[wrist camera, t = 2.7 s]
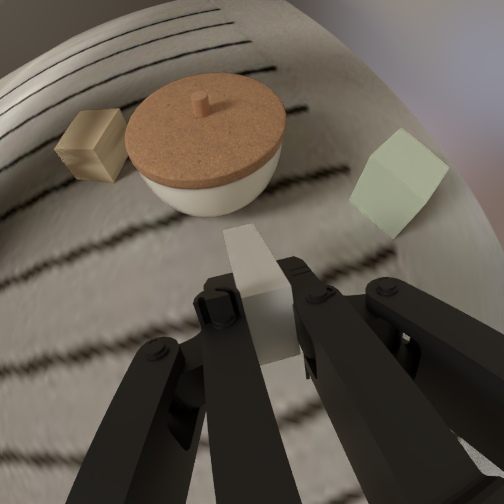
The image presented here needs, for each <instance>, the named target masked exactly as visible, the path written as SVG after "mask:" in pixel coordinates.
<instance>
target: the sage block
mask: <svg viewBox="0 0 504 504" xmlns="http://www.w3.org/2000/svg"><path fill="white" fill-rule="evenodd" d="M448 170H449V167H448V166H447V165H446V164H445V163H444V162H443V161H441V160H440V159H439V158H438V157H437V156H436V155H435V154H433V153H432V152H431V151H430V150H429V149H427V148H426V147H425V146H424V145H423V144H421V143H420V142H419V141H418V140H416V139H415V138H414V137H413V136H411V135H410V134H409V133H407V132H406V131H405V130H404V129H402V128H400V129H399V130H398V131H396V132H395V133H394V134H393V135H392V136H391V137H390V138H389V139H388V140H387V141H386V142H384V143H383V144H382V145H381V146H380V147H379V148H378V149H377V150H376V151H375V152H373V153H372V154H371V155H370V157H369V159H368V162H367V164H366V166H365V168H364V170H363V172H362V174H361V176H360V178H359V180H358V183H357V185H356V187H355V189H354V191H353V193H352V195H351V197H350V199H349V201H350V202H351V203H352V204H354V205H355V206H356V207H357V208H358V209H359V210H361V211H362V212H363V213H364V214H365V215H366V216H367V217H368V218H370V219H371V220H372V221H373V222H374V223H375V224H376V225H377V226H378V227H380V228H381V229H382V230H383V231H384V232H385V233H386V234H387V235H388V236H389V237H390V238H391V239H392V240H393V239H394V238H395V237H396V236H397V235H398V234H399V233H400V232H401V231H402V230H403V228H404V227H405V226H406V225H407V224H408V223H409V222H410V221H411V220H412V219H413V217H414V216H415V215H416V214H417V213H418V212H419V211H420V210H421V208H422V207H423V206H424V205H425V204H426V203H427V201H428V200H429V198H430V197H431V195H432V194H433V192H434V191H435V189H436V188H437V187H438V185H439V184H440V182H441V180H442V179H443V177H444V176H445V174H446V173H447V171H448Z"/></svg>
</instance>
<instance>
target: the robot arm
mask: <svg viewBox="0 0 504 504" xmlns="http://www.w3.org/2000/svg"><path fill="white" fill-rule="evenodd" d="M222 231H223V235H224V239H225V243H226V247H227V251H228V255H229V260H230V264H231V268H232V272H233V273H229V274H224V275H220V276H216V277H212V278H208V280H207V281H206V283H205V284H204V291H203V292H201V293H199V294H198V295H197V296H196V297H195V299H194V302H193V305H194V308H195V310H196V313H197V316H198V319H199V322H200V325H201V332H200V333H199V334H198V335H196V336H195V337H193V338H192V339H190V340H188V341H185V342H183V343H181V344H178V342H177V340H175V339H173V338H171V337H159V338H155V339H152V340H150V341H148V342H146V343H145V344H144V345H142V346H141V347H140V349H139V350H138V351H137V353H136V355H135V357H134V358H133V360H132V362H131V364H130V366H129V368H128V370H127V372H126V374H125V376H124V378H123V380H122V382H121V383H120V385H119V387H118V389H117V391H116V393H115V395H114V397H113V399H112V401H111V403H110V405H109V407H108V409H107V412H106V414H105V416H104V418H103V420H102V422H101V424H100V426H99V428H98V430H97V432H96V435H95V437H94V439H93V441H92V443H91V445H90V447H89V450H88V452H87V454H86V456H85V458H84V461H83V463H82V465H81V468H80V470H79V472H78V474H77V477H76V479H75V481H74V484H73V486H72V489H71V491H70V493H69V496H68V498H67V501H66V503H65V504H186V500H187V495H188V490H189V486H190V481H191V476H192V472H193V467H194V463H195V458H196V453H197V449H198V444H199V440H200V435H201V431H202V426H203V422H204V417H205V413H207V424H208V435H209V445H210V455H211V464H212V473H213V481H214V489H215V496H216V504H302V502H301V499H300V496H299V493H298V490H297V487H296V483H295V480H294V477H293V474H292V471H291V468H290V465H289V461H288V458H287V455H286V452H285V449H284V445H283V442H282V439H281V436H280V432H279V429H278V426H277V422H276V419H275V416H274V412H273V409H272V406H271V402H270V399H269V396H268V392H267V389H266V385H265V382H264V378H263V375H262V372H261V368H260V365H263V364H267V363H271V362H275V361H278V360H282V359H285V358H289V357H292V356H296V355H299V354H300V347H301V349H302V351H303V354H304V362H305V371H306V379H310V377H311V379H312V381H313V383H314V385H315V387H316V390H317V392H318V394H319V396H320V398H321V400H322V403H323V405H324V407H325V409H326V411H327V414H328V416H329V418H330V420H331V422H332V424H333V427H334V429H335V431H336V433H337V435H338V438H339V440H340V442H341V444H342V446H343V448H344V451H345V453H346V455H347V457H348V459H349V462H350V464H351V466H352V468H353V470H354V472H355V475H356V477H357V479H358V481H359V483H360V486H361V488H362V490H363V492H364V494H365V496H366V499H367V501H368V503H369V504H504V478H502V477H500V476H486V475H485V474H483V473H482V472H481V471H480V470H479V469H478V468H477V466H476V465H475V463H474V462H473V461H472V459H471V458H470V456H469V455H468V453H467V452H466V451H465V449H464V448H463V446H462V445H461V444H460V442H459V441H458V439H457V438H456V437H455V435H454V434H453V433H452V431H453V432H455V433H456V434H457V435H458V436H460V437H461V438H462V439H463V440H465V441H466V442H467V443H468V444H470V445H471V446H472V447H473V448H475V449H476V450H477V451H478V452H480V453H481V454H482V455H483V456H485V457H486V458H487V459H489V460H490V461H491V462H492V463H494V464H495V465H496V466H497V467H499V468H500V469H501V470H502V471H504V335H503V334H502V333H500V332H498V331H496V330H495V329H493V328H491V327H489V326H487V325H486V324H484V323H482V322H480V321H478V320H476V319H475V318H473V317H471V316H469V315H467V314H465V313H463V312H462V311H460V310H458V309H456V308H454V307H452V306H450V305H448V304H447V303H445V302H443V301H441V300H439V299H437V298H435V297H433V296H431V295H429V294H427V293H425V292H423V291H421V290H419V289H417V288H416V287H414V286H412V285H410V284H408V283H406V282H404V281H402V280H399V279H396V278H390V277H382V278H378V279H375V280H372V281H371V282H370V283H368V284H367V286H366V294H362V295H352V296H343V295H342V294H341V293H340V291H339V290H338V289H336V288H335V287H333V286H329V285H323V284H322V283H321V281H320V280H319V279H318V278H317V277H316V275H315V274H314V273H313V272H312V271H311V269H310V268H309V267H308V266H307V264H306V263H305V262H304V261H303V260H302V259H299V258H297V257H295V256H293V257H289V258H285V259H281V260H277V261H276V260H275V259H274V257H273V255H272V254H271V252H270V251H269V249H268V247H267V246H266V244H265V242H264V241H263V239H262V238H261V236H260V234H259V233H258V231H257V230H256V228H255V226H254V225H253V223H251V224H247V225H243V226H238V227H234V228H230V229H226V230H222ZM403 333H405V334H407V335H408V336H410V341H408V340H405V339H404V338H402V337H403ZM299 344H300V347H299ZM309 374H310V375H309ZM449 428H450V429H451V430H452V431H451V430H450V429H449Z"/></svg>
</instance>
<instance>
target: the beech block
mask: <svg viewBox="0 0 504 504" xmlns="http://www.w3.org/2000/svg"><path fill="white" fill-rule="evenodd" d="M126 127H127V124H126V122H125V120H124V117H123V115H122V113H121V111H120V108H118V109H98V110H85V111H80V112H79V113H78V114H77V116H76V117H75V119H74V120H73V121H72V123H71V124H70V126H69V127H68V128H67V130H66V131H65V133H64V134H63V136H62V137H61V139H60V140H59V142H58V144H57V145H56V147H55V148H54V150H55V152H56V153H57V154H58V156H59V157H60V158H61V160H62V161H63V162H64V164H65V165H66V166H67V168H68V169H69V170H70V172H71V173H72V174H73V175H74V177H75V178H76V179H78V180H90V181H100V182H110V183H115V181H116V179H117V177H118V175H119V173H120V171H121V169H122V167H123V165H124V163H125V161H126V159H127V157H128V153H127V151H126V147H125V131H126Z"/></svg>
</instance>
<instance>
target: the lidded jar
mask: <svg viewBox="0 0 504 504" xmlns="http://www.w3.org/2000/svg"><path fill="white" fill-rule="evenodd" d="M285 130H286V112H285V108H284V106H283V104H282V102H281V100H280V99H279V97H278V96H277V95H276V94H275V93H274V92H273V91H272V90H271V89H270V88H268V87H267V86H266V85H264V84H262V83H260V82H259V81H256V80H254V79H252V78H249V77H245V76H242V75H237V74H231V73H206V74H198V75H193V76H189V77H185V78H182V79H179V80H177V81H174V82H172V83H169V84H167V85H165V86H163V87H162V88H160V89H158V90H157V91H155V92H154V93H152V94H151V95H150V96H148V97H147V98H146V99H145V100H144V101H143V102H142V103H141V104H140V105H139V106H138V107H137V108H136V110H135V111H134V113H133V114H132V116H131V118H130V120H129V122H128V124H127V127H126V131H125V147H126V151H127V153H128V155H129V157H130V159H131V161H132V163H133V165H134V166H135V167H136V168H137V170H138V171H139V173H140V174H141V176H142V178H143V179H144V181H145V183H146V184H147V185H148V186H149V188H150V189H151V190H152V191H153V192H154V194H155V195H156V196H157V197H159V198H160V199H161V200H162V201H163V202H164V203H166V204H167V205H168V206H170V207H172V208H174V209H176V210H178V211H180V212H183V213H185V214H188V215H193V216H198V217H213V216H221V215H225V214H229V213H232V212H234V211H237V210H239V209H241V208H243V207H245V206H246V205H248V204H249V203H251V202H252V201H253V200H255V199H256V198H257V197H258V196H259V194H260V193H261V192H262V191H263V190H264V189H265V188H266V186H267V185H268V183H269V182H270V180H271V178H272V176H273V174H274V172H275V170H276V167H277V164H278V161H279V157H280V153H281V148H282V142H283V139H284V134H285Z"/></svg>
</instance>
